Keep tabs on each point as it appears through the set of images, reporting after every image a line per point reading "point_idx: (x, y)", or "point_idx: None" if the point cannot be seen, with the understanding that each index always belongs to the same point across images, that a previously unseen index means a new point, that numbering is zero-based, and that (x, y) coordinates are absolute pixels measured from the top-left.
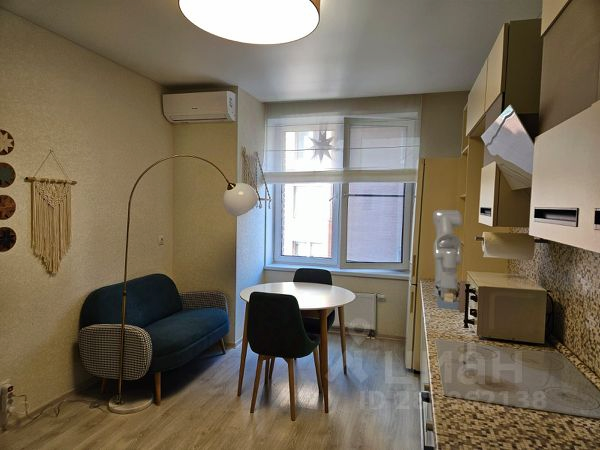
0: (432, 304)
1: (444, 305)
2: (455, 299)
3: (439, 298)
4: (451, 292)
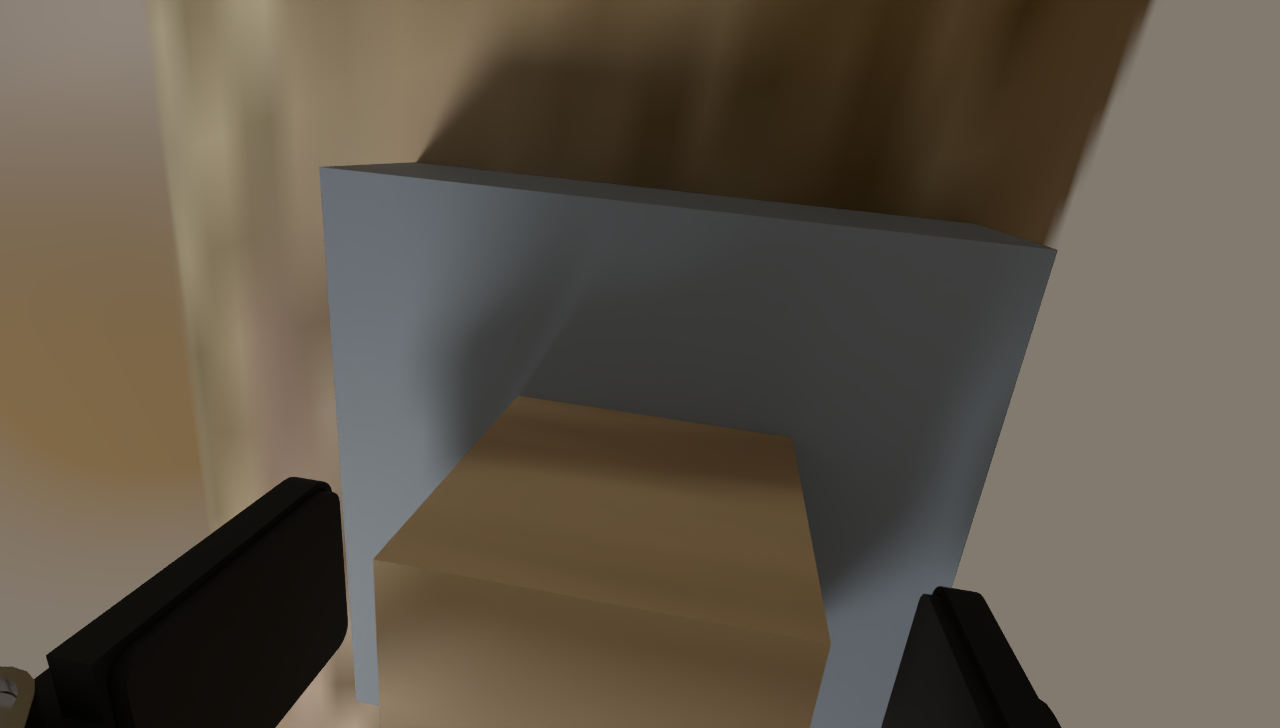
0: (309, 341)
1: None
2: (968, 279)
3: (393, 267)
4: (765, 646)
